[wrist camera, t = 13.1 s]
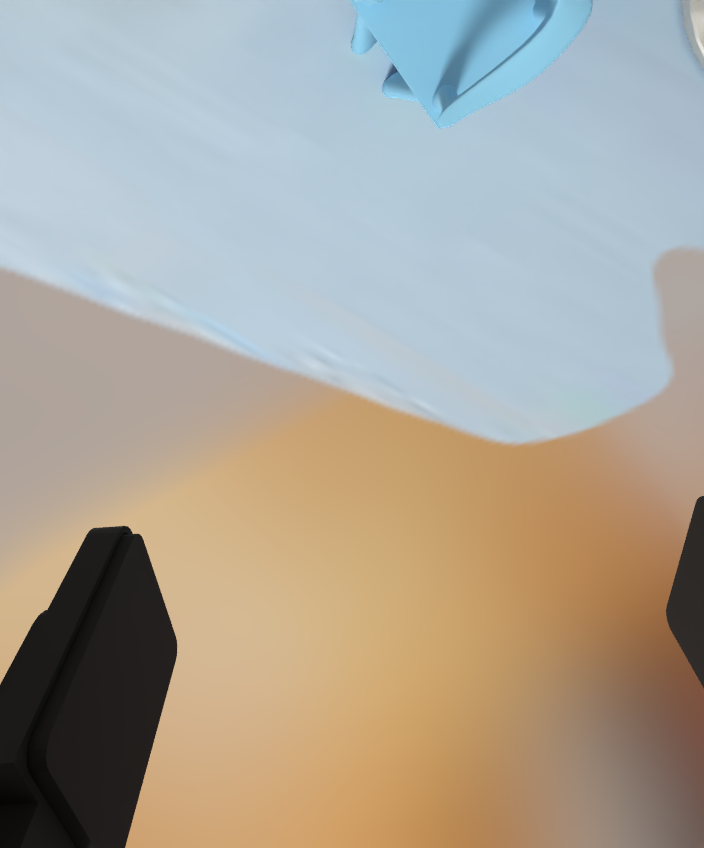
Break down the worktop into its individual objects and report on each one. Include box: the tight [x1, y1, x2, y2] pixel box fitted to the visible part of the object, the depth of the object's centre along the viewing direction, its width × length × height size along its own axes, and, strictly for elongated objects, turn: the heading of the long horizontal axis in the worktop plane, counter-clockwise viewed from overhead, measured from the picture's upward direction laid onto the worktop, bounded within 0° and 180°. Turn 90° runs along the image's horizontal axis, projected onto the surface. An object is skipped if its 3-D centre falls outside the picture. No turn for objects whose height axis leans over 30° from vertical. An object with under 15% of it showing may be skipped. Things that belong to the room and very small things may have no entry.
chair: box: [349, 0, 592, 129], centre depth 25 cm, size 8×8×12 cm
